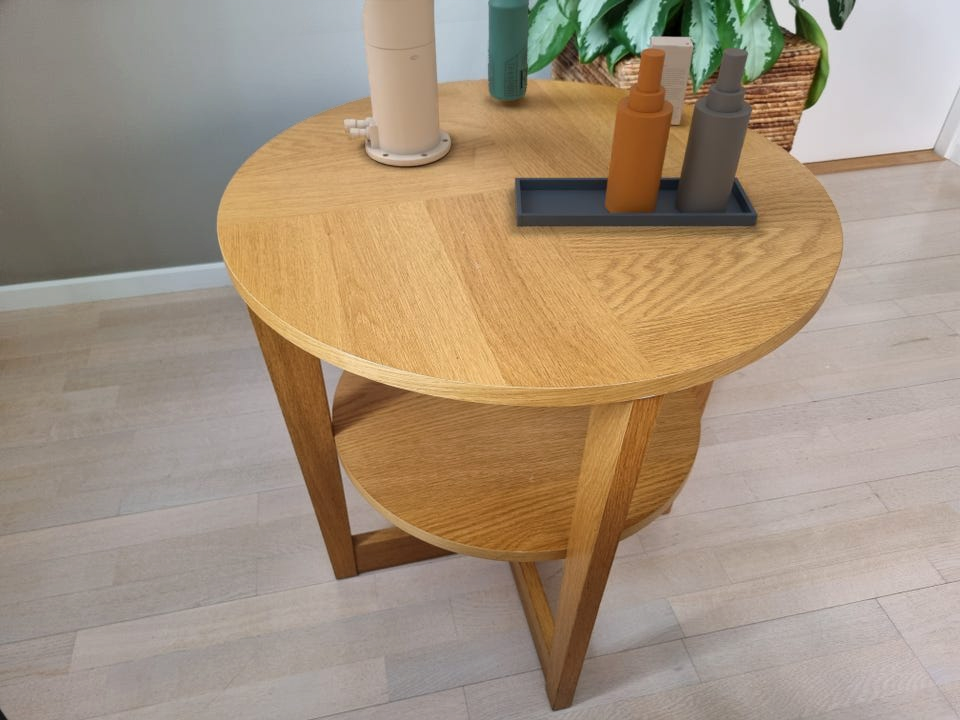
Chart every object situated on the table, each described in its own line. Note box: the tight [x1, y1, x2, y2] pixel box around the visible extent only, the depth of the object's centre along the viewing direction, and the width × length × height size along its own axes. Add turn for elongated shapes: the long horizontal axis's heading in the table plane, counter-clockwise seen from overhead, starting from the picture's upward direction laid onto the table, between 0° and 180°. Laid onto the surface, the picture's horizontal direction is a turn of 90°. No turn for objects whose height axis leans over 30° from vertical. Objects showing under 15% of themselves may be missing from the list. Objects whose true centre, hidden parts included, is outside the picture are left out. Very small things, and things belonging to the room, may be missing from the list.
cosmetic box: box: [648, 36, 695, 126], centre depth 107 cm, size 6×4×12 cm
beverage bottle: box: [486, 0, 530, 101], centre depth 110 cm, size 6×7×20 cm
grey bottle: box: [675, 47, 753, 213], centre depth 83 cm, size 6×6×19 cm
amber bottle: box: [605, 47, 674, 213], centre depth 83 cm, size 6×6×19 cm
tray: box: [514, 176, 759, 227], centre depth 89 cm, size 29×10×2 cm, turn 90°
